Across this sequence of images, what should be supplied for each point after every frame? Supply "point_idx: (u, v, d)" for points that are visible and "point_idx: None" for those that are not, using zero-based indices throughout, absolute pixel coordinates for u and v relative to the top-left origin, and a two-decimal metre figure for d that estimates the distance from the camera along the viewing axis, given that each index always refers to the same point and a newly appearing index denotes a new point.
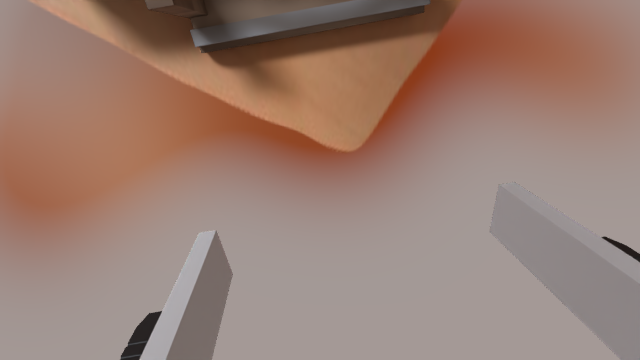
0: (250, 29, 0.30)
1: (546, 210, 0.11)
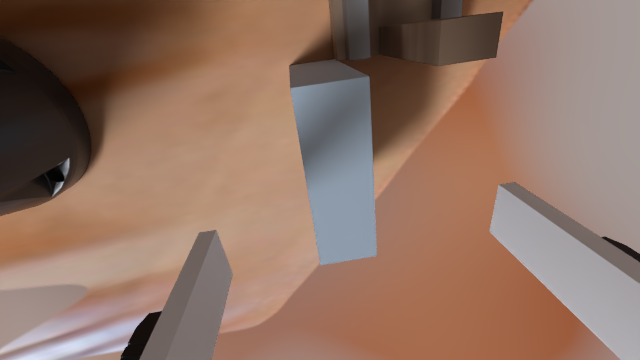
0: None
1: (546, 210, 0.11)
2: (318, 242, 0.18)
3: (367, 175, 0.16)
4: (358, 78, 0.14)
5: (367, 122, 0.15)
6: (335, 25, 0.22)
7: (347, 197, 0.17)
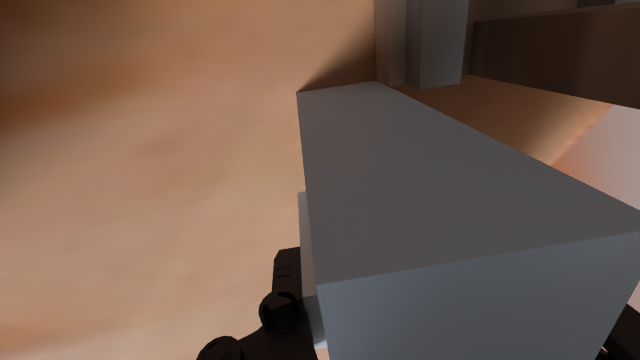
0: None
1: None
2: None
3: None
4: (616, 232, 0.03)
5: (585, 352, 0.04)
6: (389, 18, 0.11)
7: None
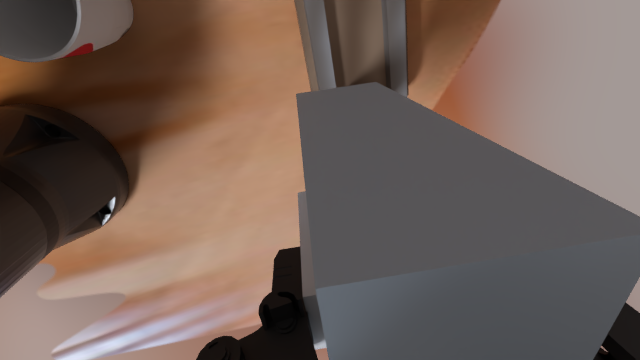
0: (398, 31, 0.25)
1: None
2: None
3: None
4: (612, 236, 0.03)
5: (583, 354, 0.04)
6: (312, 89, 0.28)
7: None
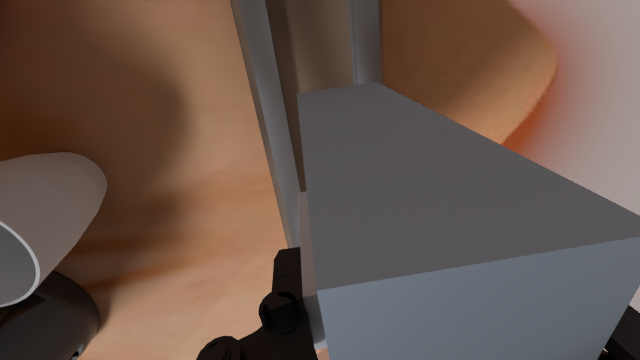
0: None
1: None
2: None
3: None
4: (616, 238, 0.03)
5: (585, 356, 0.04)
6: None
7: None
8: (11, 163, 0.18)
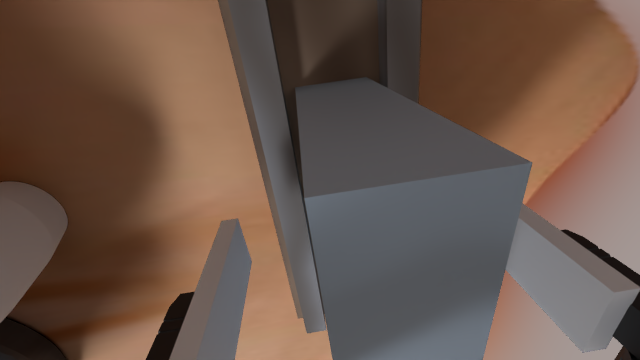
0: None
1: None
2: None
3: (471, 354, 0.07)
4: (499, 167, 0.05)
5: (497, 264, 0.06)
6: (293, 297, 0.23)
7: None
8: None
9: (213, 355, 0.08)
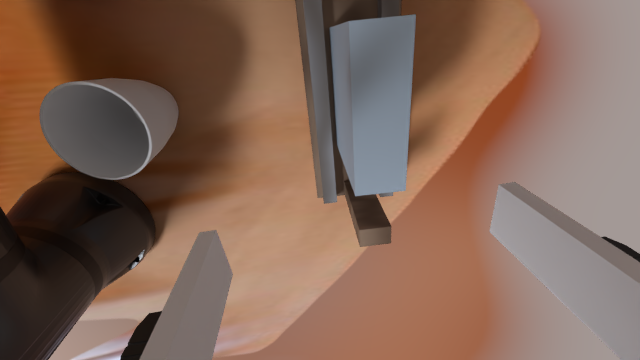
0: None
1: (546, 210, 0.11)
2: (355, 172, 0.21)
3: (405, 109, 0.19)
4: (406, 15, 0.16)
5: (410, 57, 0.17)
6: (316, 180, 0.35)
7: (386, 129, 0.19)
8: (127, 79, 0.25)
9: None
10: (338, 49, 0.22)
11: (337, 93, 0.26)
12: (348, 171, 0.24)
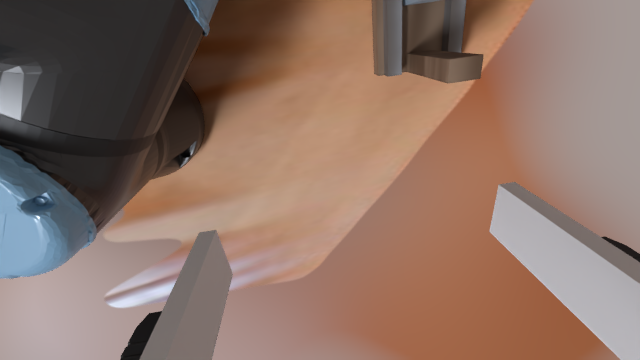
0: (459, 4, 0.30)
1: (546, 210, 0.11)
2: None
3: None
4: None
5: None
6: (378, 53, 0.33)
7: None
8: None
9: None
10: None
11: None
12: None
